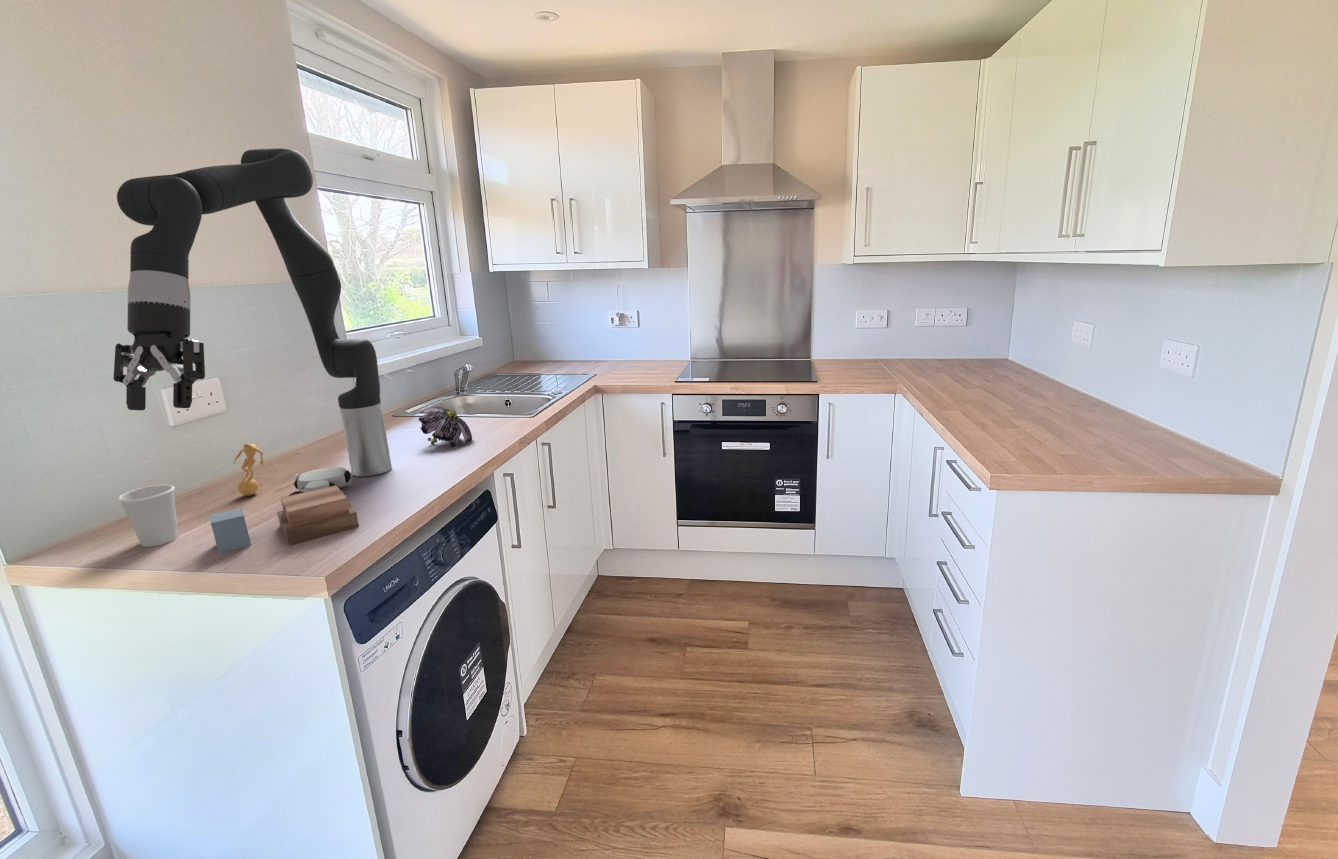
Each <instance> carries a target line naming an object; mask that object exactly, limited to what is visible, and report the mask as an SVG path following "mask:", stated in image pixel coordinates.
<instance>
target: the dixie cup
mask: <svg viewBox="0 0 1338 859" xmlns="http://www.w3.org/2000/svg"><path fill="white" fill-rule="evenodd" d="M174 492H175V486H174V485H171V484H155V485H154V484H153V485H150V486H149V485H148V486H144V487H140V488H136V489H133V490H129V491H127V492H124V493H122V494H121V495H119V496H118V497H117V501H118V502H120V504H121V506H122V508H123V510H124V512H125V514H126V516H127V519H128V520H129V523H130V525H131V527H132V529H133V532H134V533H135V535H136V538H137V540H138V541H139V543H140V545H141V547H144V548H149V547H157V546H158V547H159V546H161V545H165V544H168V543H171V542H173V541H175V540H176V539H178V538H179V529H178V520H177V512H176V500H175V493H174Z"/></svg>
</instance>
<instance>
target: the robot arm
mask: <svg viewBox="0 0 1338 859" xmlns="http://www.w3.org/2000/svg"><path fill="white" fill-rule="evenodd" d="M313 184H314V174H313V171H312V168H311V165H310V163H309V161H308V160H307V158H306V157H305V156H304V155H303V154H302V153H300V152H299V151H297V150H294V149H292V148H288V147H279V148H277V147H276V148H275V147H272V148H255V149H248V150H246V151H243V154H242V155H241V158H240V164H239V163H237V164H222V165H212V166H205V167H199V168H195V169H190V170H185V171H181V172H177V173H174V174H173V173H172V174H164V175H150V176H142V177H136V178H134V177H133V178H130V179H128V180H126V181H124V182H123V183H122V184H121V185H120V187H118V190H117V193H116V200H117V201H116V202H117V205H118V207H119V208H120V210H121V212H122V213H123V214H124V215H125V216H126V217H127V218H128V219H129V220H132V221H133V222H135V223H137V224H140V225H144V226H150V227H152V228H151V229H150V231H148V232H145V233H143V234H141V235H138V236H136V237H134V238H133V239H132V241H131V243H130V254H129V255H130V259H129V260H130V264H129V266H130V270H129V273H130V274H129V280H128V285H127V331H128V333H129V334H131V335H133V337H134V340H133V343H132V344H126V343H125V344H124V343H118V342H117V343H116V344H115V347H114V349H115V350H114V365H113V381H114V382H117V383H122V384H123V385H124V386H125V387H126V389H125V390H126V392H125V393H126V398H125V399H126V401H125V404H126V408H127V410H129V411H145V409H146V407H147V406H146V402H147V401H146V397H147V393H146V387H145V386H146V384H147V382H148V380H149V379H150V378H151V377H152V376H154V375H156V373H157V372H162V371H165V372H167V373H169V375H170V376H171V378H172V379H173V381H174V382H175V383H173V385H172V386H173V387H172V389H173V392H172V393H173V396H172V397H173V399H172V402H173V403H172V406H173V407H174V408H177V409H190V408H191V406H192V403H193V385H194V384H195V382H196V381H198V380H204V379H205V377H206V366H205V344H204V342H203V341H199V340H195V339H191V338H190V336H191V290H190V284H189V283H190V282H189V273H190V272H189V270H190V267H189V265H190V263H189V262H190V261H189V260H190V259H189V257H190V253H191V249H192V247H193V245H194V242H195V239H196V236H197V233H198V231H199V228H200V224H201V222H202V221H201V220H202V217H203V216H204V215H211V214H215V213H218V212H222V211H226V210H229V209H231V208H235V207H239V206H242V205H244V204H248V203H252V202H255V204H256V205H257V207H258V209H259V211H260V214H261V215H262V217H263V219H264V220H265V223H266V224H267V227H268V228H269V230H270V232H271V234H272V237H273V239H274V241H275V243H276V246H277V248H278V250H279V253H280V255H281V257H282V259H283V262H284V265H285V267H286V270H287V273H288V275H289V277H290V278H289V279H290V280H291V282H292V285H293V288H294V289H295V292H296V293H297V297H298V298H299V300H300V302H301V305H302V307H303V310H304V313H305V315H306V317H307V320H308V323H309V325H310V328H311V332H312V334H313V338H314V341H315V344H316V345H315V346H316V347H317V351H318V354H319V357H320V361H321V363H322V365H323V367H324V370H325V371H326V372H327V374H328V375H329V376H330V377H333V378H337V379H348V378H349V379H350V378H355V386H354V387H353V388H352V389H350V390H348V391H344V392H343V393H341V394H339V395H338V396H337V401H338V407H339V413H340V417H341V423H342V427H343V432H344V439H345V445H346V448H347V449H346V450H347V454H348V460H349V466H350V470H351V472H352V467H354V469H353V474H352V475H353V476H354V477H370V476H377V475H381V474H384V473H387V472H389V471H391V469H392V468H393V467H392V460H391V456H390V454H391V453H390V448H389V443H388V437H387V430H386V429H387V428H386V426H385V420H384V413H383V407H382V402H381V384H380V375H379V366H378V365H379V364H378V359H377V353H376V350H375V347H374V345H373V343H372V342H371V341H370V340H369V339H366V338H349V339H348V338H347V339H346V338H344V339H343V338H342V339H341V338H340V336H339V335H338V331H337V329H336V326H335V314H336V311H337V306H338V303H339V300H340V296H341V292H342V283H341V279H340V276H339V273H338V270H337V268H336V265H335V263H334V260H333V258H332V256H331V254H330V252H329V251H328V250H327V249H326V248H325V246H323V245H322V244H321V243H320V242H319V240H317V239H316V238H315V237H314V236H313V235H312V234H311V233H309V231H308V230H306V229H305V227H304V226H302V225H301V223H299V221H298V220H297V218H296V217H295V216H294V214H293V212H292V211H291V208H290V207H289V204H288V203H287V201H286V199H288V198H289V199H292V198H300V197H303V196H305V195H307V194H308V193H309V192H310V191H311V190H312V188H313ZM202 215H203V216H202ZM193 365H195V367H194V366H193ZM125 368H126V371H127V372H126V374H124V369H125ZM194 368H195V370H194ZM137 376H138V377H137ZM351 472H350V473H351Z"/></svg>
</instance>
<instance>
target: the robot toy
mask: <svg viewBox="0 0 1338 859" xmlns="http://www.w3.org/2000/svg"><path fill="white" fill-rule="evenodd" d="M353 469H354V467H352V472H350V471H349V470H348V469H346V468H344V467H341V466H340V467H339V466H338V467H325V468H319V469H314V470H309V471H306V472H302V473H300V475H299V476H298V473H295V476H294V480H293V482H292V485H293V486H294V488H295V489H296V490H295V491H293V492H292V493H290V494H289V495H288V496H291V495H295V494H300V493H304V492H309V491H313V490H317V489H322V488H326V487H331V486H335V485H336V486H337V487H338V488H339V489H340V490H341V492H342V493H343V494H344V491H342V488H343V487H344V486H346V484H349V482H350V481H351V479H352V478H353V476H354V475H352V474H353Z"/></svg>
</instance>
